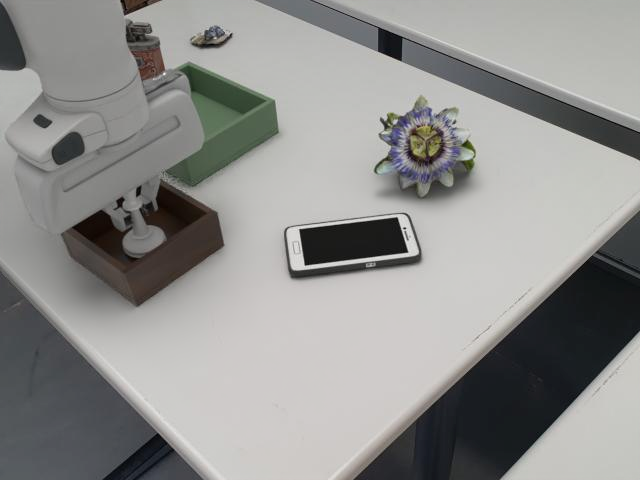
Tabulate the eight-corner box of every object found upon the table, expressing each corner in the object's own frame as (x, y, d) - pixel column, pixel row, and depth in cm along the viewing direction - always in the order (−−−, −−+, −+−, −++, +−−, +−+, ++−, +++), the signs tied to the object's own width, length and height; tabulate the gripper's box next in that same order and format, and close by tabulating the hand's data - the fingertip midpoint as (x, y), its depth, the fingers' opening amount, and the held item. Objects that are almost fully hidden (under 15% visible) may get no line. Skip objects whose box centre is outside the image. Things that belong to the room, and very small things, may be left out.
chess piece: (173, 247, 78) (152, 174, 70) (131, 264, 76) (105, 190, 69) (157, 224, 81) (136, 151, 73) (117, 239, 79) (91, 166, 72)
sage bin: (109, 138, 95) (99, 107, 92) (195, 91, 103) (188, 61, 99) (192, 186, 87) (184, 154, 83) (279, 131, 94) (275, 99, 91)
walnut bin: (70, 256, 79) (55, 224, 76) (156, 202, 85) (146, 170, 82) (137, 307, 73) (124, 274, 70) (224, 245, 79) (217, 212, 76)
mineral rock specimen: (187, 49, 112) (185, 38, 110) (195, 27, 117) (193, 15, 116) (228, 48, 111) (227, 36, 110) (235, 25, 117) (233, 14, 115)
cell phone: (283, 232, 80) (282, 226, 79) (408, 217, 81) (409, 211, 80) (289, 279, 75) (288, 272, 74) (423, 262, 75) (423, 255, 75)
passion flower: (420, 228, 88) (369, 181, 79) (401, 166, 93) (352, 116, 84) (501, 182, 83) (456, 127, 74) (475, 119, 88) (431, 61, 79)
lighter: (116, 91, 104) (96, 25, 97) (125, 79, 106) (107, 14, 99) (165, 95, 103) (149, 28, 95) (174, 83, 105) (159, 17, 97)
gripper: (164, 52, 72) (190, 164, 82) (-13, 141, 62) (42, 254, 73) (203, 70, 69) (225, 184, 79) (24, 166, 59) (76, 281, 70)
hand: (136, 218), depth 76 cm, fingers closed on chess piece
